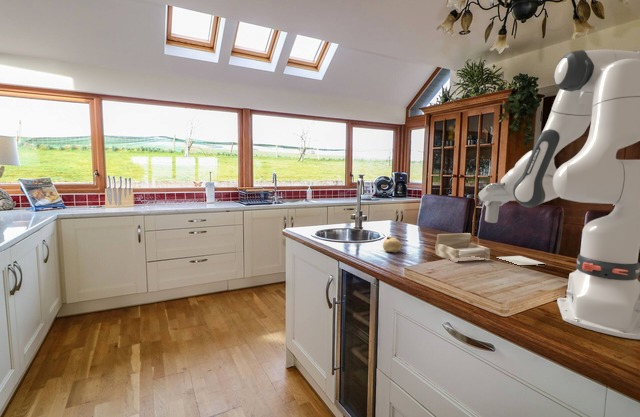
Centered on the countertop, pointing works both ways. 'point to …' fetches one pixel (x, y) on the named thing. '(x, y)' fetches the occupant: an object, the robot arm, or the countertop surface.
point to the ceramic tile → (520, 260)
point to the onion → (391, 245)
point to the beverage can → (492, 212)
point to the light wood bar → (471, 252)
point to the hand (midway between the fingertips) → (492, 204)
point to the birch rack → (455, 245)
